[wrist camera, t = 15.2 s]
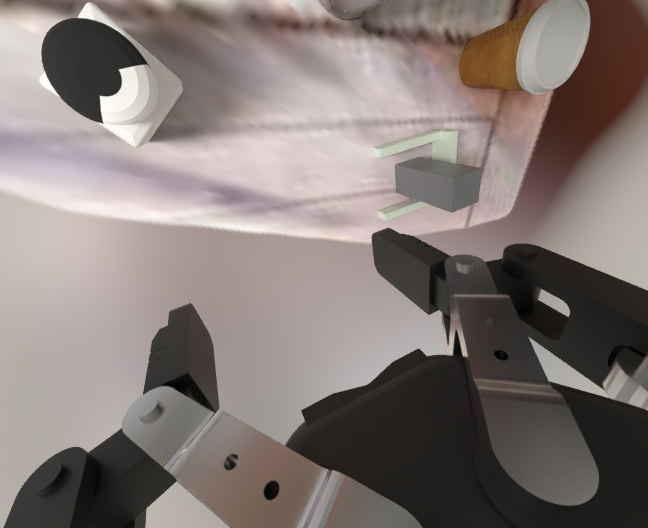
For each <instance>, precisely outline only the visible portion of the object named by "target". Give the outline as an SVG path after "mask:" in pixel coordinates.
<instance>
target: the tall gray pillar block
mask: <svg viewBox="0 0 648 528" xmlns="http://www.w3.org/2000/svg"><path fill="white" fill-rule="evenodd" d="M481 170H482V168H477V167H472V166H466V165H460V164H454V163H449V162H443V161H437V160H431V159H426V158H420V157H417V158H414V159H411V160H408V161H405V162H402V163H399V164H396V165H395V176H396V192H397V193H399V194H402V195H405V196H408V197H410V198H413V199H416V200H419V201H421V202H424V203H427V204H430V205H432V206H435V207H438V208H441V209H443V210H446V211H449V212H454V211H457V210H459V209H462V208H464V207H467V206H469V205H472V204H474V203H477V202H478V198H479V189H480V179H481Z"/></svg>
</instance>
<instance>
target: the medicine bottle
mask: <svg viewBox="0 0 648 528" xmlns="http://www.w3.org/2000/svg"><path fill="white" fill-rule="evenodd" d="M41 53H42V63H43V67H44V70H45V71H44V73H43V74H42V76H41V78H40V83H41V84H42V85H43V86H44V87H45V88H47V89H48V90H50V91H51V92H53V93H54V94H56V95H57V96H59V97H60V98H61V99H62V100H63V101H64V102H66V103H67V104H68V105H69V106H70V107H71V108H72V109H74V110H75V111H76V112H78V113H79V114H81V115H83V116H85V117H87V118H88V119H91V120H93V121H96V122H98V123H99V124H101V125H102V126H104V127H105V128H107V129H108V130H110V131H111V132H113V133H114V134H116V135H117V136H119V137H120V138H122V139H123V140H125V141H126V142H128V143H129V144H130V145H132V146H133V147H136V148H139V147H140V146H142V145H144V144H146V143H147V142H149V141H150V139H151V138H152V136H153V135H154V133H155V132H156V130H157V129H158V127H159V126H160V125H161V123H162V122H163V120H164V119H165V117H166V116H167V114H168V113H169V111H170V110H171V109H172V107H173V106H174V104H175V103H176V101H177V100H178V98H179V97H180V95H181V94H182V93H183V86H182V81H181V80H180V79H179V78H178V77H177V76H176V75H175V74H173V73H172V72H171V71H170V70H169V69H168V68H167V67H165V66H164V65H163V64H162V63H161V62H160V61H159V60H157V59H156V58H155V57H154V56H153V55H152V54H151V53H149V52H148V51H147V50H146V49H145V48H144V47H143V46H141V45H140V44H139V43H138V42H137V41H136V40H135V39H133V38H132V37H131V36H130V35H129V34H128V33H127V32H125V31H124V30H123V29H122V28H121V27H120V26H119V25H118V24H116V23H115V22H114V21H113V20H112V19H111V18H110V17H108V16H107V15H106V14H105V13H104V12H103V11H102V10H100V9H99V8H98V7H97V6H96V5H95V4H93V3H89V2H88V3H87V4H86V5H85V7H84V8H83V10H82V11H81V13H80V15H79V16H78V18H71V19H67V20H63V21H61V22H59V23H57V24H56V25H54V26H53V27H52V28H51V29H50V30H49V31H48V32H47V34H46V36H45V38H44V41H43V44H42V52H41Z"/></svg>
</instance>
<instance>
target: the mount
mask: <svg viewBox="0 0 648 528" xmlns="http://www.w3.org/2000/svg"><path fill="white" fill-rule="evenodd" d="M457 140H458V130H445V129H435V130H432V131H428V132H425V133H422V134H418V135H415V136H411V137H408V138H405V139H401V140H398V141H395V142H391V143H388V144H384V145H381V146H378V147H374V148H373V156H374V157H379V158H382V157H386V156H389V155H392V154H395V153H399V152H402V151H405V150H408V149H411V148H415V147H418V146H421V145H424V144H428V143H431V142H432V160H437V161H443V162H449V163H454V164H456V156H457ZM427 205H430V204H427V203H424V202H421V201H419V200H416V199H410V200H407V201H404V202H402V203H399V204H396V205H393V206H391V207H388V208H385V209H382V210H380V211H378V213H379V218H381V219H383V220H384V221H387V220H390V219H393V218H395V217H398V216H401V215H403V214H406V213H409V212H411V211H414V210H417V209H419V208H422V207H425V206H427Z"/></svg>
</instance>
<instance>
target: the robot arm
mask: <svg viewBox="0 0 648 528" xmlns="http://www.w3.org/2000/svg"><path fill="white" fill-rule="evenodd" d="M319 1H320V3H321V4H322V5H323V6H324V8H325V9H326V10H327V11H328V12H330V13H331V14H332V15H334V16H336V17H338V18H341V19H347V20H350V19H354V18H357V17H359V16H361V15H363V14H364V13H366V12H368V11H370V10H371V9H373V8H375V7H377V6H379V5H380V4H382V3H384V2H385V1H387V0H319ZM372 246H373V255H374V263H375V267H376V269H377V271H378V273H379V274H380V275H381V276H382V277H384V278H385V279H386V280H387V281H388V282H390V283H391V284H392V285H393V286H395V287H396V288H397V289H398V290H399V291H400V292H402V293H403V294H404V295H405V296H406V297H408V298H409V299H410V300H411V301H412V302H414V303H415V304H416V305H417V306H419V307H420V308H421V309H422V310H423V311H425V312H426V313H427V314H428V315H430V314H432V313H434V312H436V311H438V310H440V311H441V312H442V324H443V331H444V338H445V345H446V352H447V355H432V356H426V355H425V354H424V353H423V352H422V351H421V350H420V349H417V350H415V351H413V352H411V353H409V354H407V355H405V356H403V357H402V358H400V359H398V360H396V361H394V362H392V363H391V364H390V365H389V366H388V367H387V368H386V369H385V370H384V371H383V372H381V373H380V374H379V375H378V376H377V377H376V378H375V379H374V380H373V381H372V382H371V383H369V384H368V385H365V386H362V387H357V388H354V389H350V390H346V391H342V392H338V393H334V394H331V395H330V396H328V397H326V398H324V399H322V400H320V401H318V402H316V403H314V404H312V405H311V406H309V407H307V408H305V409H303V410H302V414H303V416H304V419H305V422H304V423H302V424H301V425H300V426H299V427H298V428H297V430H296V431H295V432H294V433H293V434H292V436H291V437H290V439H289V440H288V441H287V443H286V445H285V446H284V445H282V444H281V443H279V442H277V441H275V440H274V439H272V438H270V437H269V436H267V435H265V434H263V433H261V432H260V431H258V430H256V429H255V428H253V427H251V426H249V425H248V424H246V423H244V422H242V421H241V420H239V419H237V418H236V417H234V416H232V415H230V414H229V413H227V412H225V411H223V410H221V409H219V400H218V390H217V379H216V371H215V359H214V351H213V350H214V349H213V343H212V340H211V337H210V334H209V332H208V330H207V329H206V327H205V325H204V324H203V322H202V320H201V318H200V316H199V315H198V313H197V311H196V310H195V308H194V306H193V305H192V304H191V303H189V304H187V305H184V306H182V307H179V308H177V309H174V310H171V311H170V312H169V320H168V326H166V327H164V328H161V329H160V330H159V331H158V333H157V334H156V336H155V337H154V339H153V340H152V346H151V354H150V357H149V363H148V368H147V374H146V380H145V386H144V392H143V396H141V397H140V398H139V399H137V400H136V401H135V402H134V403H133V405H132V406H131V407H130V408H129V410H128V411H127V413H126V415H125V416H124V419H123V423H122V428H121V429H120V430H119V431H118V432H116V433H115V434H114V435H112V436H111V437H110V438H108V439H107V440H105V441H104V442H102V443H101V444H100V445H98V446H97V447H96V448H94V449H93V450H91V451H90V452H89V453H88V452H87V451H85V450H84V449H82V448H80V447H71V448H68V449H65V450H63V451H61V452H59V453H57V454H55V455H54V456H53V457H51V458H49V459H48V460H47V461H46V462H44V463H43V464H42V465H41V466H40V467H39V468H38V469H37V470H36V471H35V472H34V473H33V474H32V475H31V476H30V477H29V478H28V479H27V481H26V482H25V483H24V485H23V486H22V488H21V489H20V491H19V493H18V495H17V497H16V499H15V501H14V504H13V506H12V509H11V511H10V513H9V516H8V518H7V521H6V523H5V526H4V528H145V523H146V508H147V507H148V506H150V505H151V504H152V503H153V502H154V501H155V500H156V499H157V498H158V497H159V496H161V495H162V494H163V493H164V492H165V491H166V490H167V489H168V488H169V487H171V486H172V485H173V484H174V483H175V482H176V481H178V483H180V484H181V485H182V486H183V487H184V488H185V489H187V490H188V491H189V492H190V493H191V494H192V495H194V496H195V497H196V498H197V499H198V500H199V501H200V502H202V503H203V504H204V505H205V506H206V507H207V508H208V509H209V510H211V511H212V512H213V513H214V514H215V515H216V516H217V517H219V518H220V519H221V520H222V521H223V522H224V523H226V524H227V525H228V526H229V527H230V528H648V291H647V290H645V289H642V288H640V287H638V286H635V285H632V284H630V283H628V282H625V281H623V280H620V279H618V278H615V277H613V276H610V275H608V274H605V273H603V272H601V271H598V270H596V269H593V268H591V267H588V266H586V265H584V264H581V263H579V262H576V261H573V260H571V259H569V258H566V257H564V256H561V255H559V254H557V253H554V252H552V251H549V250H546V249H544V248H542V247H539V246H536V245H531V244H514V245H510V246H508V247H506V248H505V249H504V252H503V257H502V259H499V260H493V261H488V262H485V261H483V260H482V259H480V258H478V257H476V256H472V255H455V256H452V257H451V256H449V255H448V254H446V253H444V252H442V251H440V250H438V249H436V248H434V247H432V246H431V245H428V244H427V243H425V242H422V241H421V240H419V239H417V238H415V237H414V236H410V235H406V234H399V233H398V232H396V231H394V230H392V229H390V228H386V229H383V230H381V231H378V232H376V233H373V235H372ZM541 289H543V290H545V291H547V292H548V293H550V294H552V295H554V296H556V297H558V298H560V299H561V300H563V301H564V302H565V303H566V304H567V305H568V307H569V309H570V315H569V317H567V316H565V315H563V314H562V313H560V312H558V311H556V310H555V309H553V308H551V307H549V306H548V305H546V304H544V303H542V302H541V301H539V300H538V298H539V294H540V291H541ZM528 337H530V338H531V339H533V340H534V341H536V342H537V343H538V344H540V345H541V346H543V347H544V348H545V349H547V350H548V351H550V352H551V353H553V354H554V355H555V356H557V357H558V358H560V359H561V360H562V361H564V362H566V363H567V364H568V365H569V366H571V367H572V368H574V369H575V370H577V371H578V372H579V373H581V374H582V375H584V376H585V377H586V378H588V379H590V380H591V381H592V382H594V383H595V384H596V385H598V386H600V387H601V388H602V389H603V390H605V391H606V393H607V394H608V396H609V397H610V398H611V399H610V398H606V397H603V396H599V395H596V394H592V393H588V392H585V391H581V390H578V389H574V388H571V387H567V386H564V385H560V384H556V383H553V382H549V381H548V379H547V377H546V375H545V373H544V370H543V368H542V366H541V364H540V362H539V359H538V357H537V355H536V353H535V351H534V349H533V347H532V344H531V342H530V340H529V338H528Z"/></svg>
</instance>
